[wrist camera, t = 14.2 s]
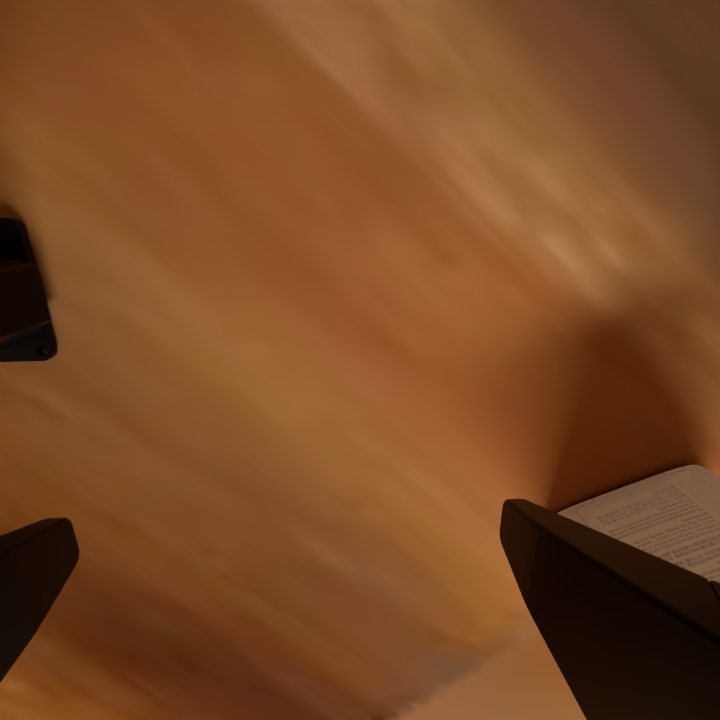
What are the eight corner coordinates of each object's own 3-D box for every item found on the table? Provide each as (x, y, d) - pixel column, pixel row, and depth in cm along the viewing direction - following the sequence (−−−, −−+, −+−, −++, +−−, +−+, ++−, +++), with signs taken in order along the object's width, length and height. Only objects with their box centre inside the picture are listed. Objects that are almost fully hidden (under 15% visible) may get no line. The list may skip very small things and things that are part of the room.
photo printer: (550, 563, 27) (718, 836, 15) (532, 514, 25) (701, 771, 13) (709, 504, 26) (1021, 746, 14) (699, 450, 24) (1035, 666, 13)
